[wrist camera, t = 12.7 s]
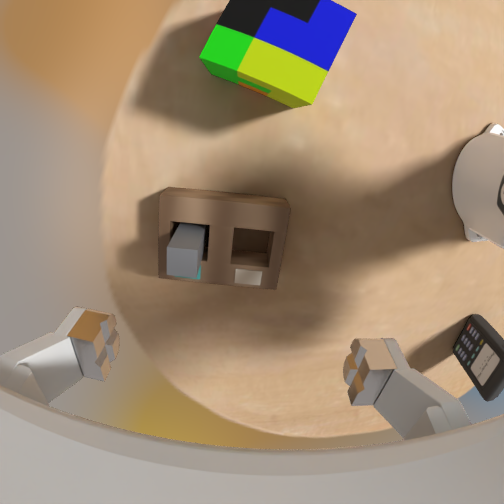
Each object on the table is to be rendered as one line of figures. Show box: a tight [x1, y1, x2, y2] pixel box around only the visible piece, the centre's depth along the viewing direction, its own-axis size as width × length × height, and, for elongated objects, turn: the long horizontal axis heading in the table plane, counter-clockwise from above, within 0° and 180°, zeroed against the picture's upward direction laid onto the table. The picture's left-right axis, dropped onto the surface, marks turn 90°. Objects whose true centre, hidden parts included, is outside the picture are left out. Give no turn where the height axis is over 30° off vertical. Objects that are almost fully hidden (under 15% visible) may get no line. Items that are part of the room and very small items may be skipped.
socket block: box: [159, 187, 291, 290], centre depth 36 cm, size 14×10×4 cm
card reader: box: [453, 314, 504, 401], centre depth 40 cm, size 9×4×15 cm, turn 172°
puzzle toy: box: [199, 0, 357, 108], centre depth 25 cm, size 10×10×10 cm
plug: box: [167, 222, 207, 278], centre depth 33 cm, size 3×3×9 cm
